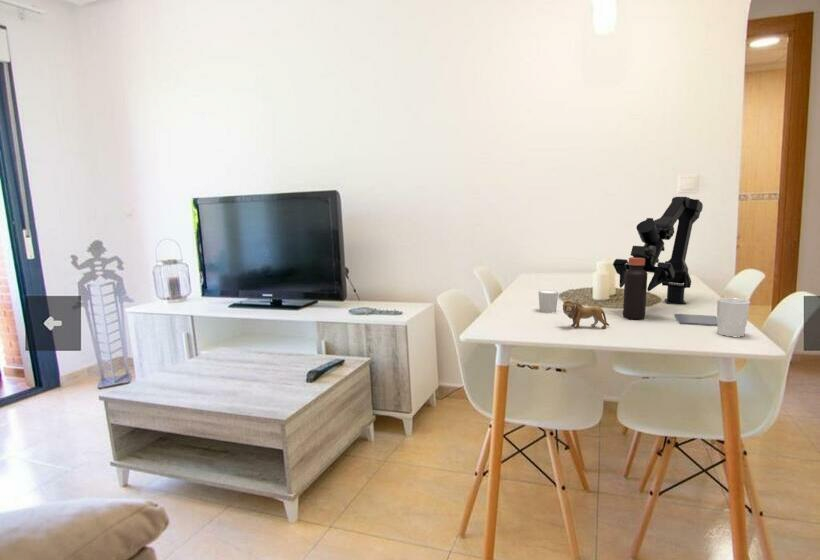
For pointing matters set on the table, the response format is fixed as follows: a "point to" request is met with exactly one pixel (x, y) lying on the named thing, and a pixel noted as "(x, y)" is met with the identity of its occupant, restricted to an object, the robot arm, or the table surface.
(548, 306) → the ribbed white pot
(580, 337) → the table surface
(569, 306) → the lion figurine
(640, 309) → the vinegar
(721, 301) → the white cup
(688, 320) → the slate coaster
